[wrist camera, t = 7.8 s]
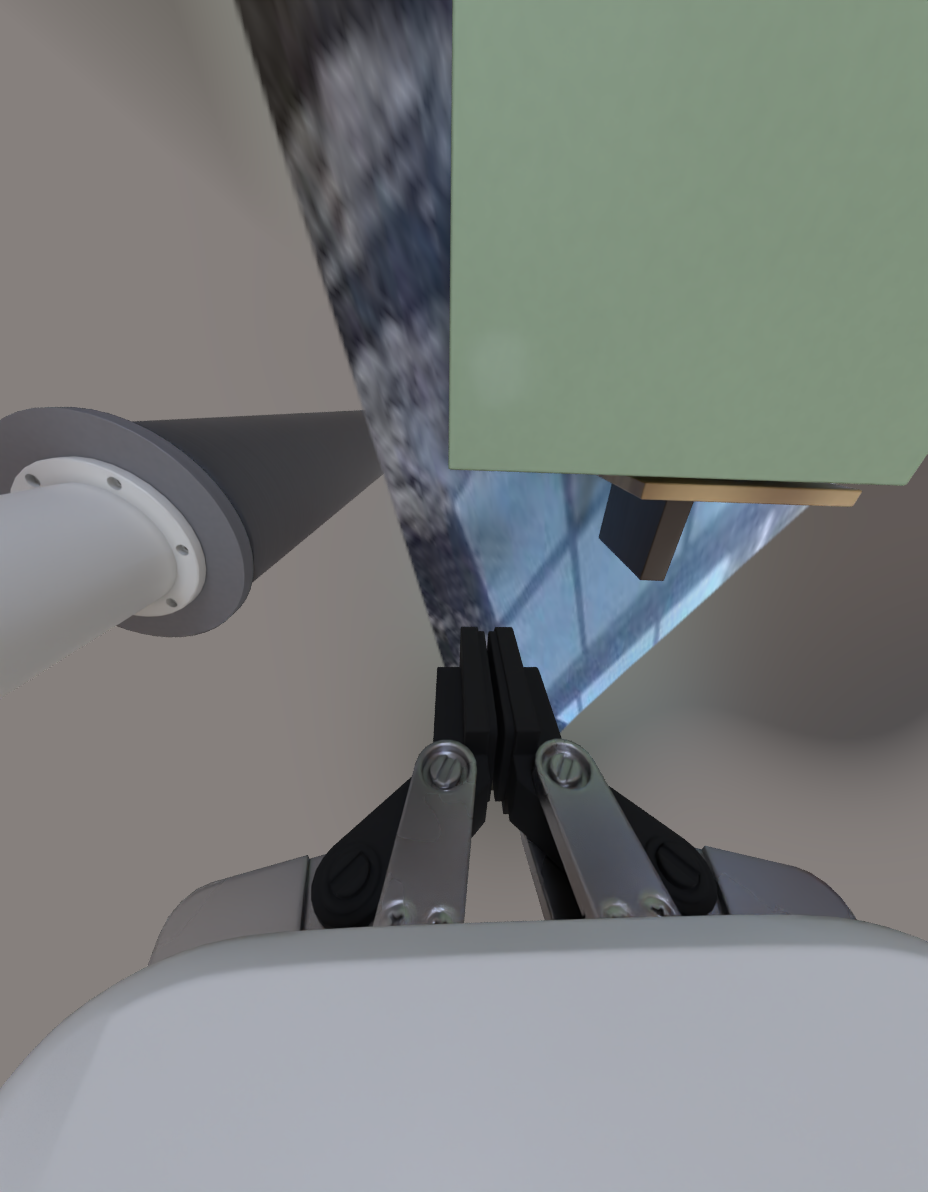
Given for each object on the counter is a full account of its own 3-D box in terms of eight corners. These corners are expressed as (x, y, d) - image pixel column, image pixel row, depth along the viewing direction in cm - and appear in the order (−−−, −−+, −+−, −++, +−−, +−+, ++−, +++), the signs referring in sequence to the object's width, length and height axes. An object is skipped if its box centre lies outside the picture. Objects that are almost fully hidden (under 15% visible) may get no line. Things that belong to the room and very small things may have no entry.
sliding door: (559, 516, 25) (615, 584, 16) (571, 450, 23) (646, 482, 13) (676, 520, 25) (801, 590, 16) (700, 455, 23) (864, 490, 14)
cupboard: (456, 462, 24) (448, 506, 13) (461, 186, 17) (453, -148, 7) (703, 470, 24) (882, 521, 14) (804, 201, 17) (1308, -103, 7)
